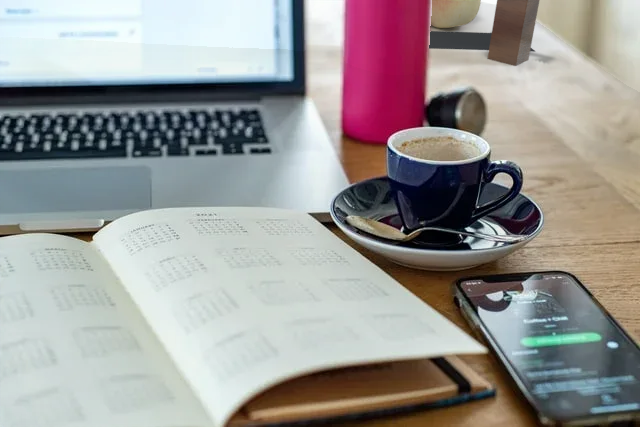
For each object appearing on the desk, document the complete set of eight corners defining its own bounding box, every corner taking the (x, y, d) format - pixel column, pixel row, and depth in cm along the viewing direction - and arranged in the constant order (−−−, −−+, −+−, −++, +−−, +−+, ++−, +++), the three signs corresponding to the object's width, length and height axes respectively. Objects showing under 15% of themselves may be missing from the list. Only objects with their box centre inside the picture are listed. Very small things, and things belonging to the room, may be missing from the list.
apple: (408, 26, 132) (414, -28, 129) (434, 16, 139) (441, -36, 136) (460, 38, 128) (469, -17, 125) (485, 27, 135) (494, -25, 132)
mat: (512, 38, 131) (513, 33, 130) (535, 56, 123) (536, 51, 122) (408, 35, 128) (408, 30, 127) (424, 53, 120) (425, 48, 120)
